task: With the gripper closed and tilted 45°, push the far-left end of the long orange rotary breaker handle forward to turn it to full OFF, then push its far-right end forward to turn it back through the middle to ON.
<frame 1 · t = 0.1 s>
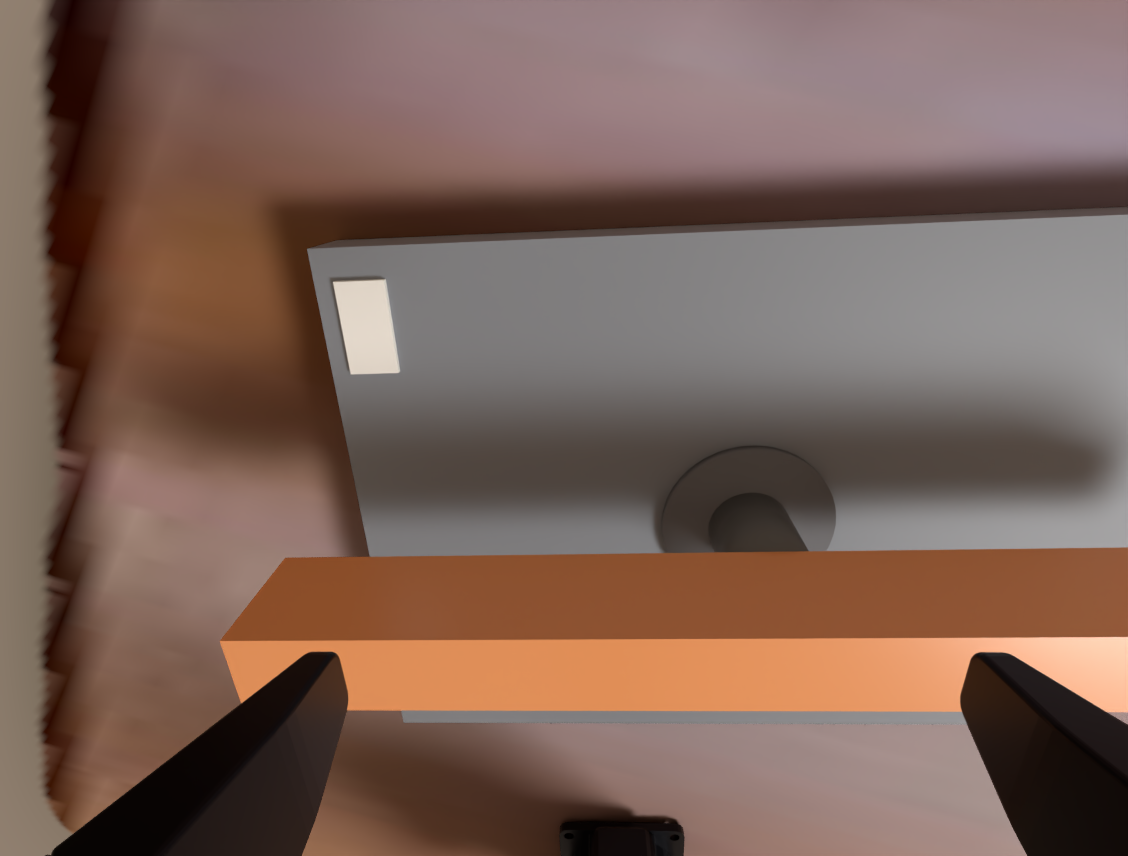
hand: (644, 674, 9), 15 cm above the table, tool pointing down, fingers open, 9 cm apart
breaker handle: (773, 584, 18), point 6 cm above the table, hinge at 0.0°, touching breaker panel
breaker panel: (731, 488, 24), on the table
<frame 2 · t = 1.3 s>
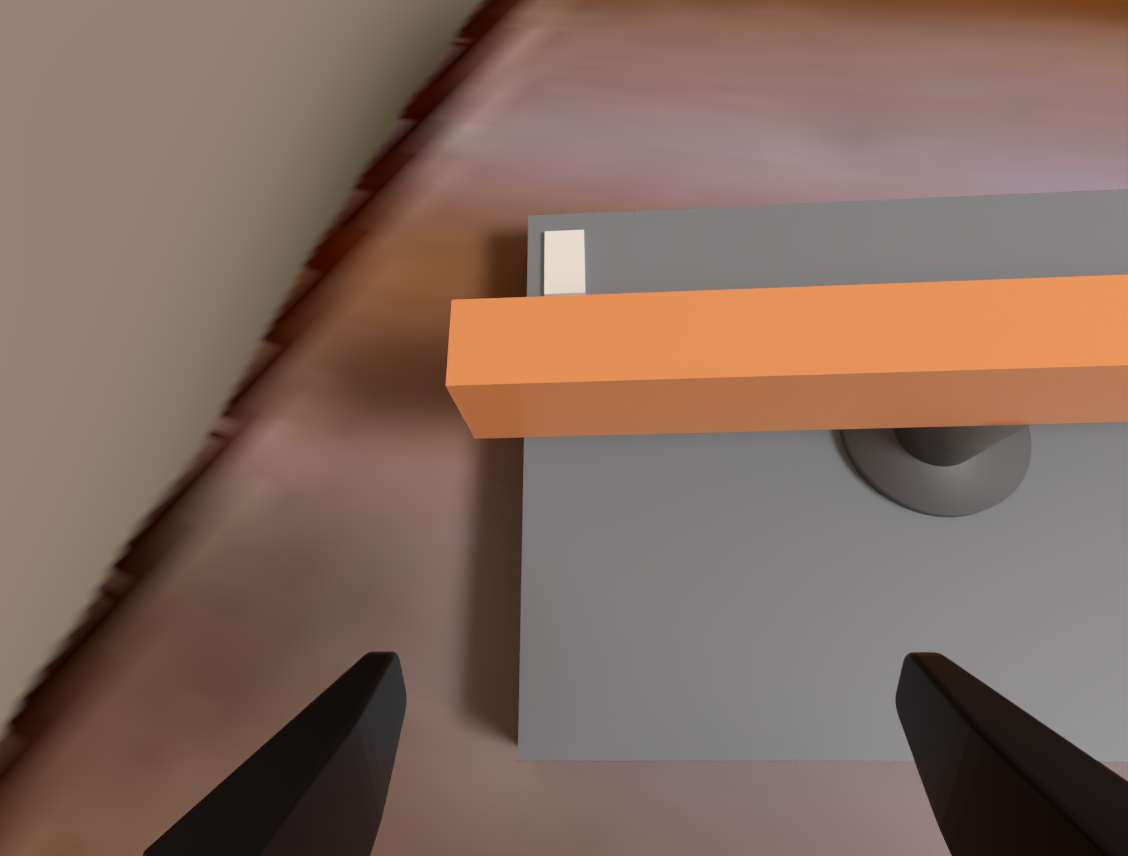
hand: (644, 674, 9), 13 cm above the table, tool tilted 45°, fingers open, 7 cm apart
breaker handle: (993, 386, 17), point 6 cm above the table, hinge at 0.0°, touching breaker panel
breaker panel: (897, 454, 23), on the table
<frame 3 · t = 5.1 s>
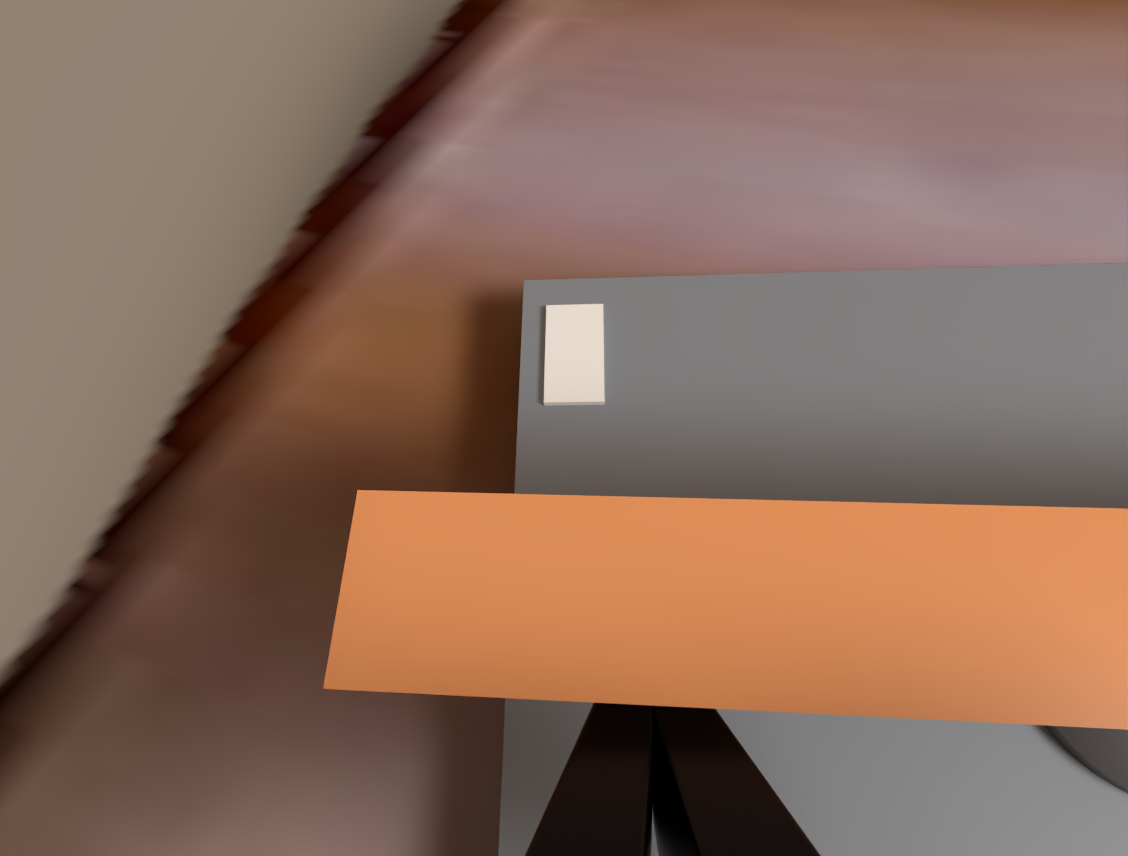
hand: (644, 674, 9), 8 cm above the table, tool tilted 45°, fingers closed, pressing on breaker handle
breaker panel: (1073, 654, 15), on the table
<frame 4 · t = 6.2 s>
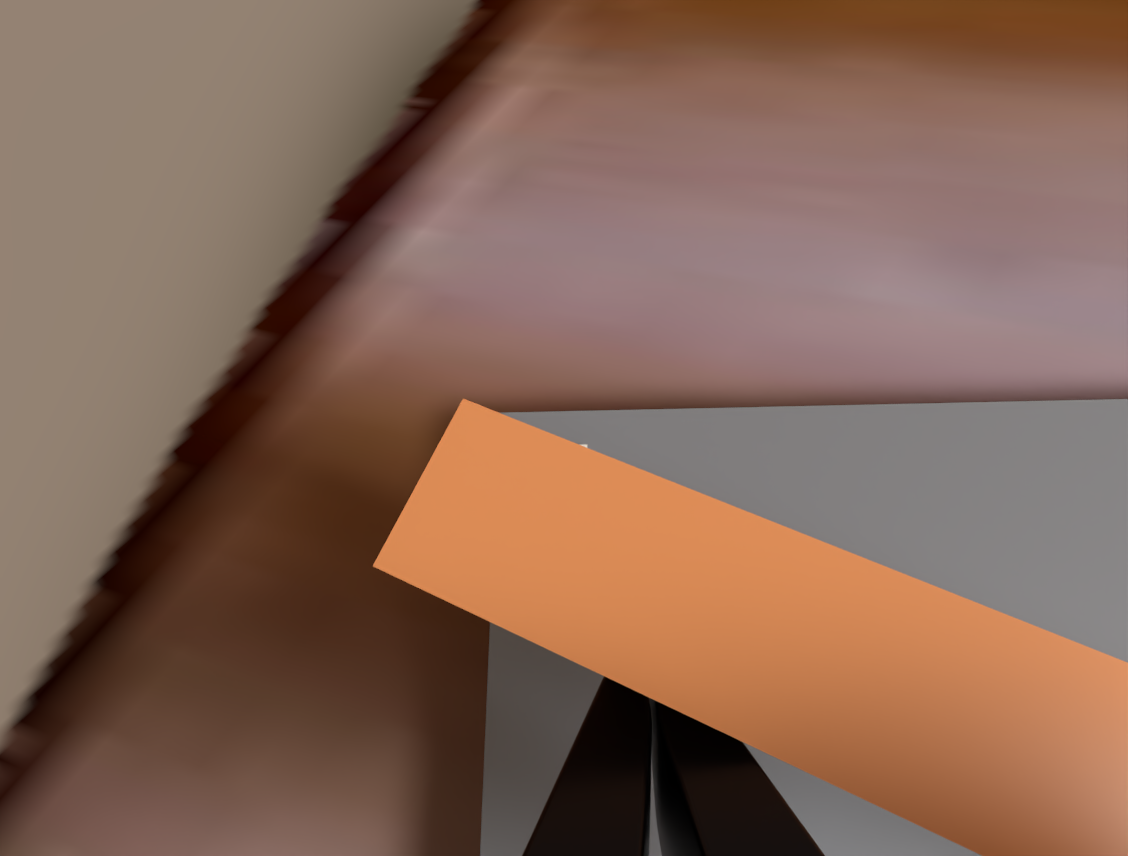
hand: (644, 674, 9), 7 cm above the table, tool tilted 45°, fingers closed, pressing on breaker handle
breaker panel: (1112, 848, 14), on the table
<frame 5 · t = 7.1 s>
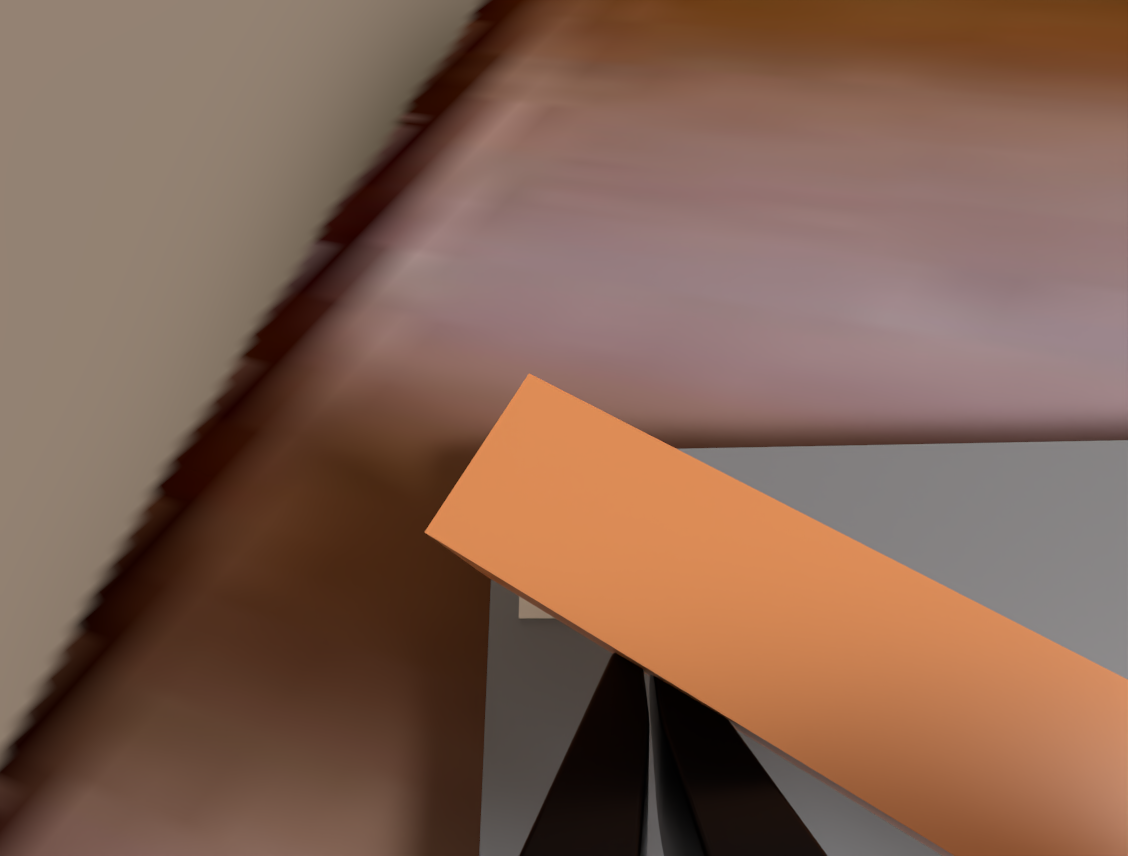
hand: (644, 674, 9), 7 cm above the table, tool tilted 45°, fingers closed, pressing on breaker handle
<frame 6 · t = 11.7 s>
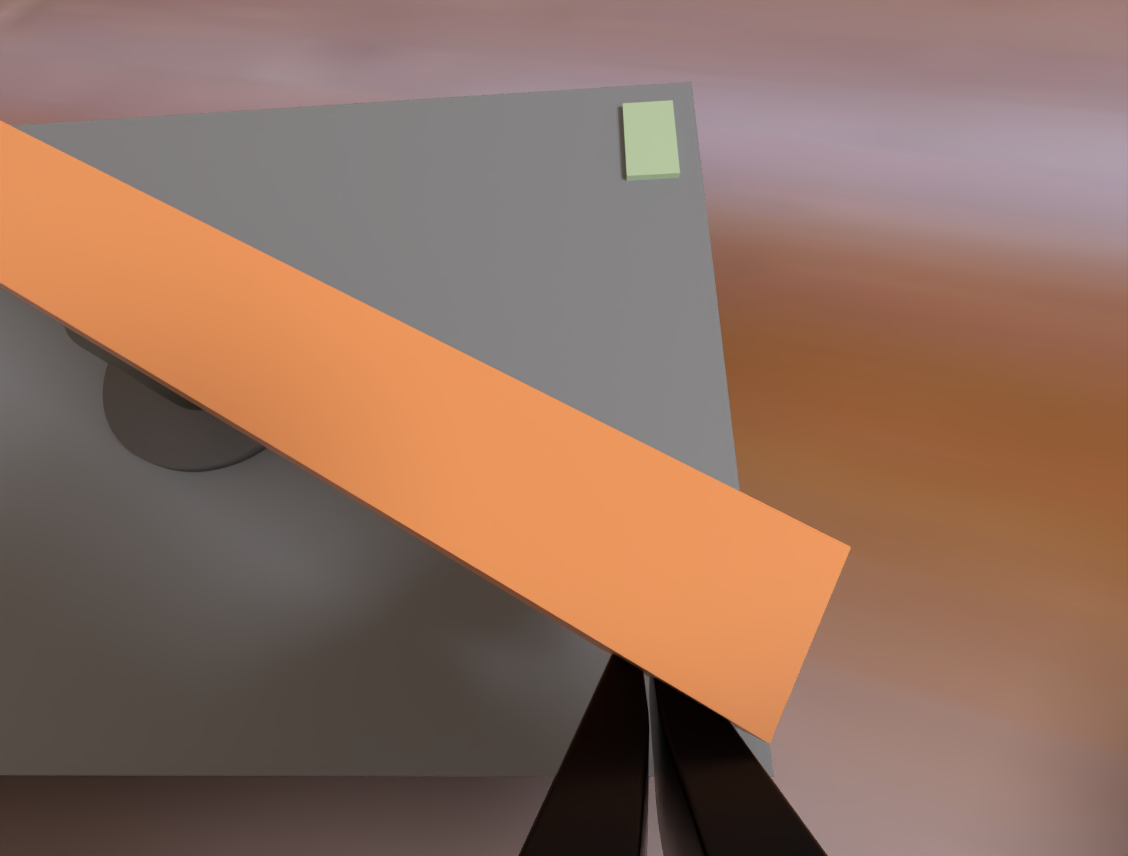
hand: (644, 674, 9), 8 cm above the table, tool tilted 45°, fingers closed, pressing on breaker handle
breaker handle: (124, 297, 14), point 6 cm above the table, hinge at -30.4°, touching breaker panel, gripper
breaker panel: (264, 404, 19), on the table
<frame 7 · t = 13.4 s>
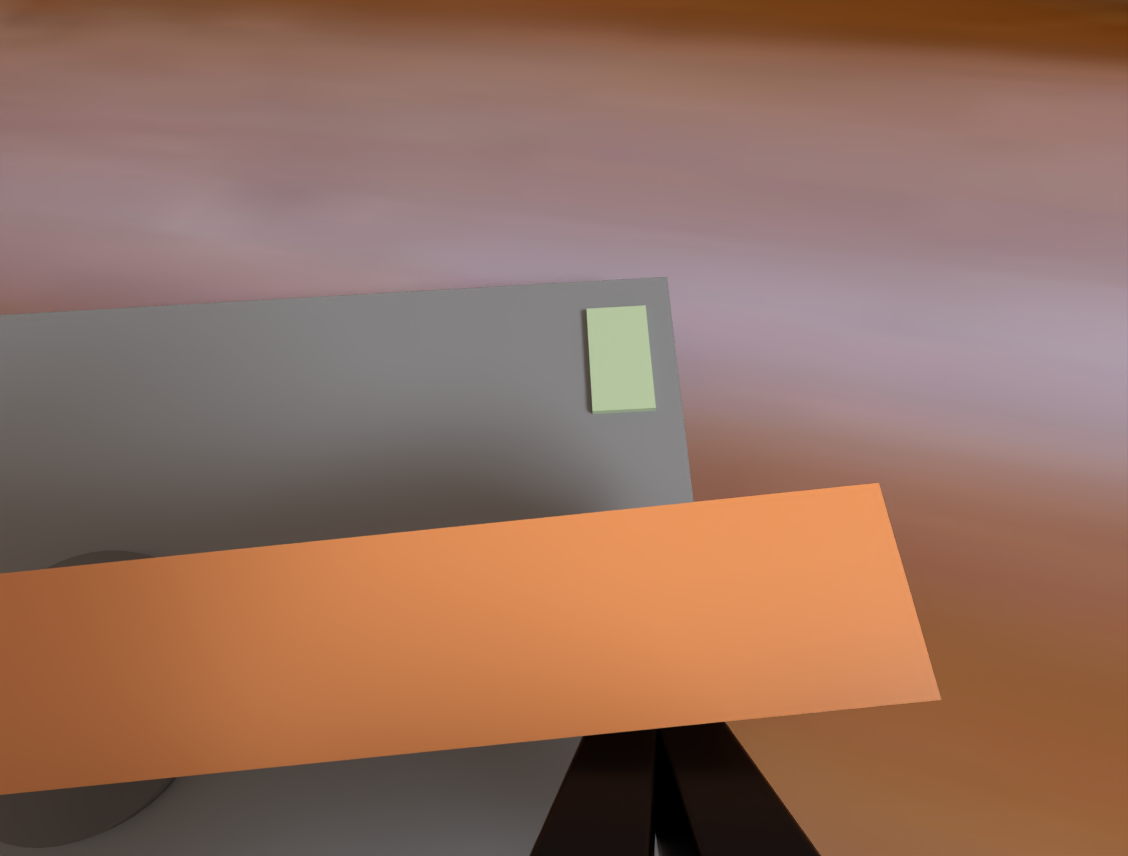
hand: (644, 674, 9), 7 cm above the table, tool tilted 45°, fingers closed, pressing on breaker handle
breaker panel: (161, 682, 16), on the table
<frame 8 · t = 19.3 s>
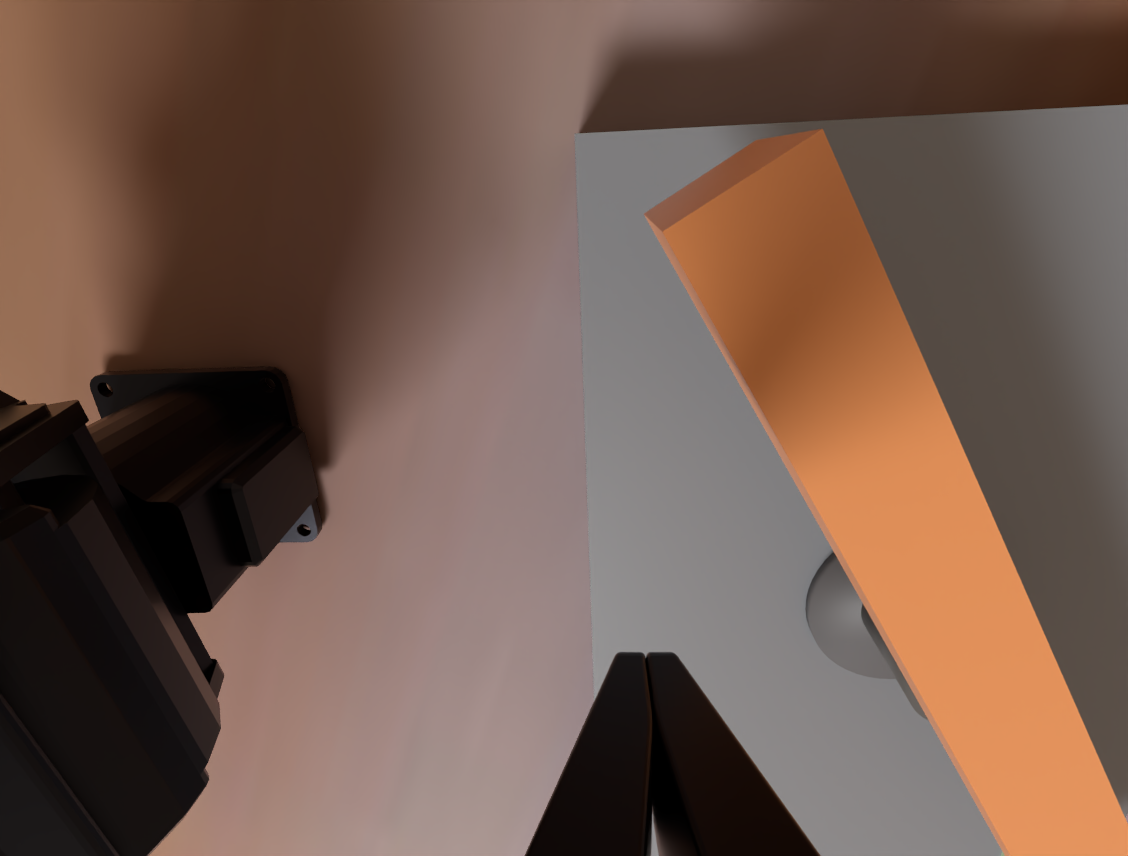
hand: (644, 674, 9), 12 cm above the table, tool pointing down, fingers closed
breaker handle: (963, 687, 16), point 6 cm above the table, hinge at 30.3°, touching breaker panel
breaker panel: (869, 555, 22), on the table
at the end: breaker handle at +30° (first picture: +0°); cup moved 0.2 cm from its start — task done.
